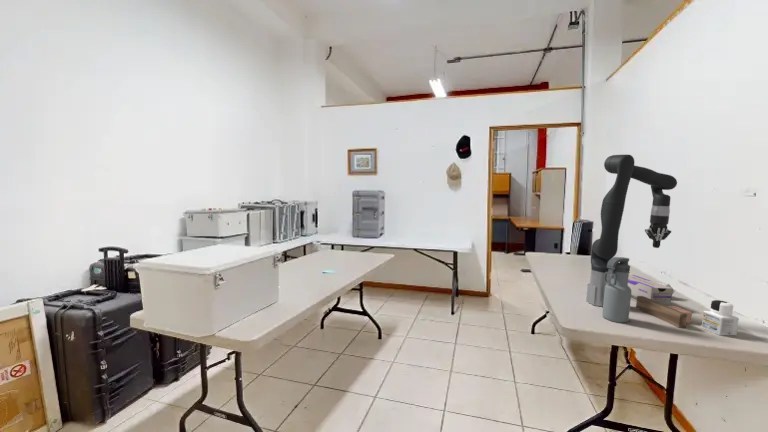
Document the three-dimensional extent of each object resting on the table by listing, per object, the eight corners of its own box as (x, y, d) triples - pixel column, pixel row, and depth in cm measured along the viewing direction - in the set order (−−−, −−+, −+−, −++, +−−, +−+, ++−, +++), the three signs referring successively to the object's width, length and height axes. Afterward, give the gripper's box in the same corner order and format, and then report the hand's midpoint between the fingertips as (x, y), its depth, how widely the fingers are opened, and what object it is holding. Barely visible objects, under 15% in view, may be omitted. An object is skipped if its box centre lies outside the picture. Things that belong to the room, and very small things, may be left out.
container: (700, 327, 148) (704, 298, 146) (717, 327, 148) (721, 298, 147) (719, 335, 140) (724, 305, 139) (736, 335, 141) (741, 305, 140)
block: (673, 322, 153) (674, 312, 152) (658, 315, 161) (659, 305, 160) (690, 323, 153) (692, 312, 153) (674, 316, 161) (676, 306, 161)
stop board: (678, 327, 147) (680, 314, 146) (635, 307, 171) (637, 295, 170) (685, 327, 147) (687, 314, 146) (641, 307, 171) (643, 296, 170)
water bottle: (613, 323, 148) (620, 260, 146) (596, 315, 158) (602, 255, 155) (633, 323, 150) (640, 260, 147) (615, 314, 160) (621, 255, 157)
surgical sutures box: (614, 292, 195) (616, 274, 194) (632, 293, 196) (634, 275, 195) (649, 308, 170) (651, 287, 169) (670, 309, 171) (672, 288, 170)
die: (670, 297, 192) (659, 281, 195) (681, 294, 184) (669, 278, 188) (657, 302, 191) (646, 286, 195) (668, 299, 183) (656, 283, 187)
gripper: (653, 214, 173) (649, 248, 174) (678, 215, 173) (674, 249, 175) (641, 213, 180) (638, 245, 182) (666, 214, 181) (662, 246, 182)
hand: (656, 247), depth 178 cm, fingers closed
